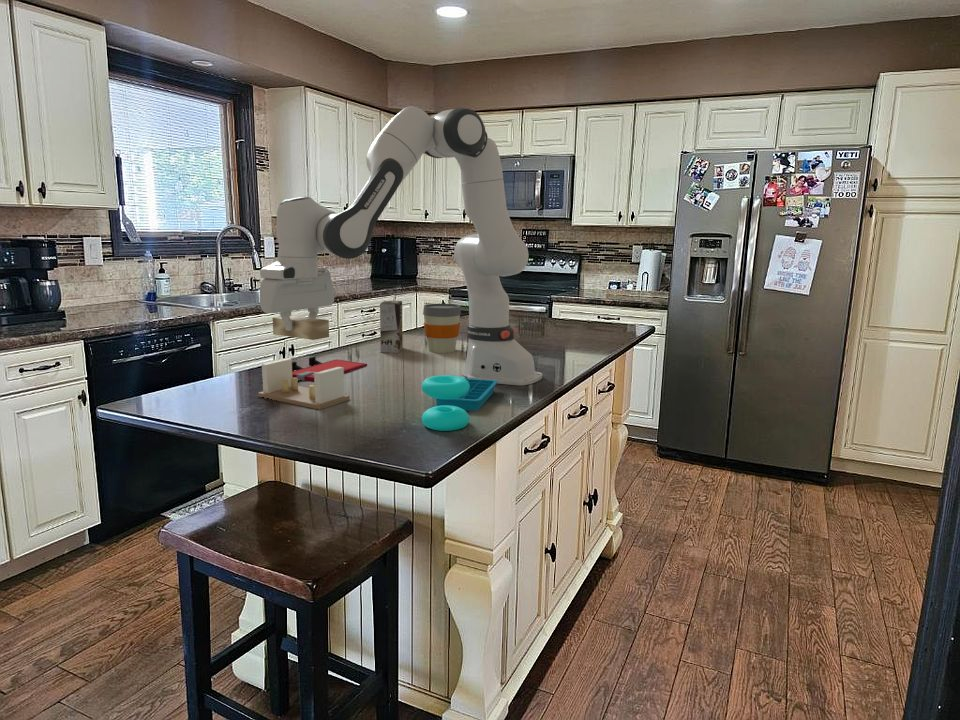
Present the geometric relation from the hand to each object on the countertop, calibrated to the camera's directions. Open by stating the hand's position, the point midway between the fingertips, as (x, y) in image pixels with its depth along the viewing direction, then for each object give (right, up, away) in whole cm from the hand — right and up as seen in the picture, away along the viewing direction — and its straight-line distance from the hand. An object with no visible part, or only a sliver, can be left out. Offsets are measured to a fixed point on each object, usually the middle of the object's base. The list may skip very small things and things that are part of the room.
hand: (300, 328), depth 150 cm
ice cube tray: (+39, -17, +6) cm, 43 cm away
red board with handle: (-4, -12, +29) cm, 32 cm away
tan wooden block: (0, -2, 0) cm, 2 cm away
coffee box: (+13, -4, +63) cm, 64 cm away
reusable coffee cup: (+29, -4, +64) cm, 70 cm away
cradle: (0, -17, +4) cm, 17 cm away
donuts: (+35, -21, -15) cm, 44 cm away
